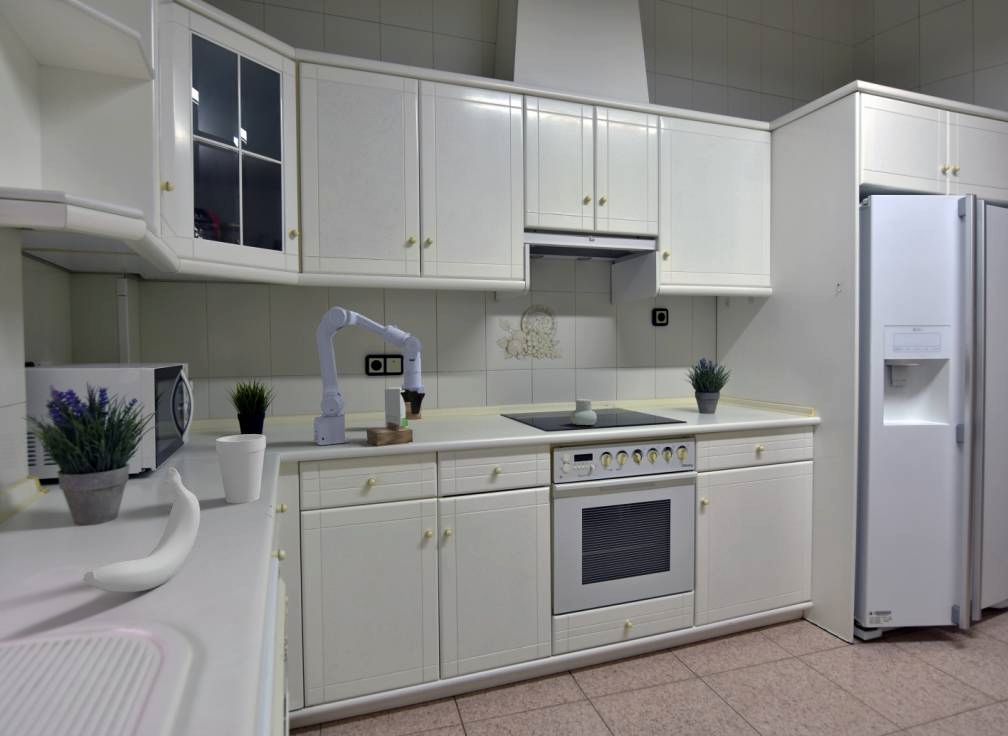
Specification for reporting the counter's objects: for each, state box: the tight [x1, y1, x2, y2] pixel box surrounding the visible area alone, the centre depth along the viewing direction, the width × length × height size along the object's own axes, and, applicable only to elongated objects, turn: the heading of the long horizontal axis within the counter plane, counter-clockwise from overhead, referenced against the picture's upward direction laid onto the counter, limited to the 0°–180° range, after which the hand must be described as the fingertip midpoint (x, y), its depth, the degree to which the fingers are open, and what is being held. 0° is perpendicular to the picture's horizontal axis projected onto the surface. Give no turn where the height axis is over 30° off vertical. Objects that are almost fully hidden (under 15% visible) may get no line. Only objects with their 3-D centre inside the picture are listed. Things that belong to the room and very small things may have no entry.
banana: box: [82, 466, 201, 593], centre depth 77 cm, size 5×19×15 cm, turn 178°
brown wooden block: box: [366, 426, 414, 447], centre depth 183 cm, size 12×9×4 cm
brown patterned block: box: [405, 402, 422, 421], centre depth 188 cm, size 4×4×6 cm
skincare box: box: [384, 386, 410, 429], centre depth 211 cm, size 8×7×16 cm
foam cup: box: [215, 433, 267, 504], centre depth 118 cm, size 10×9×13 cm
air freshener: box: [570, 398, 598, 426], centre depth 216 cm, size 11×8×10 cm
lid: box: [370, 422, 412, 433], centre depth 183 cm, size 11×8×3 cm
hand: (412, 413), depth 188 cm, fingers closed on brown patterned block, 4 cm apart
